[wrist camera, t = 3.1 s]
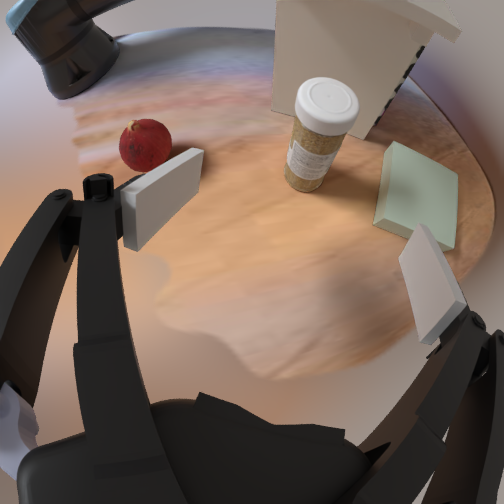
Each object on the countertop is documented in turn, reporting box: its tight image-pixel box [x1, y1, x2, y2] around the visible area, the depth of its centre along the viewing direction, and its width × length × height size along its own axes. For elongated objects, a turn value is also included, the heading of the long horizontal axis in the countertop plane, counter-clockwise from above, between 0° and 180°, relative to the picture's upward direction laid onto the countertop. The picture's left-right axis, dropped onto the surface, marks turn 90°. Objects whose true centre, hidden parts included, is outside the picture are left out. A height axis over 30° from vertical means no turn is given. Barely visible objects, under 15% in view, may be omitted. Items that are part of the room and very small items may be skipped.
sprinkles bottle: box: [284, 77, 360, 192], centre depth 22 cm, size 5×5×14 cm
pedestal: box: [373, 141, 458, 252], centre depth 27 cm, size 10×10×3 cm
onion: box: [119, 119, 172, 172], centre depth 26 cm, size 6×6×8 cm
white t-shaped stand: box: [271, 0, 462, 140], centre depth 19 cm, size 12×7×22 cm, turn 72°
